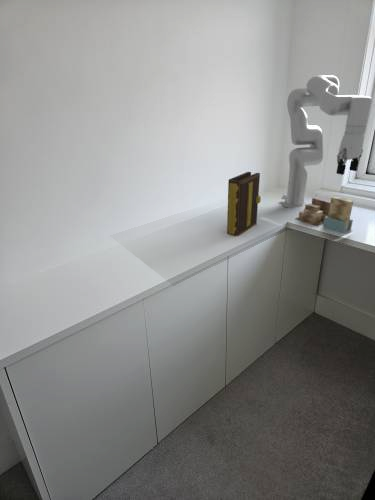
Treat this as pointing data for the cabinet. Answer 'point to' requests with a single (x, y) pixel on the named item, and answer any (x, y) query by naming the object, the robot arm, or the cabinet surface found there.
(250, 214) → the book
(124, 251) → the cabinet surface
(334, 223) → the stand
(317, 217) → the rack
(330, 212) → the light brown flat block
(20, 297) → the cabinet surface
